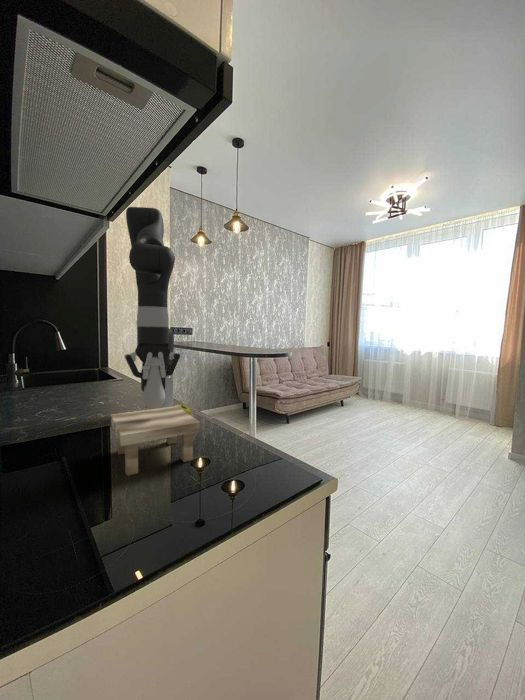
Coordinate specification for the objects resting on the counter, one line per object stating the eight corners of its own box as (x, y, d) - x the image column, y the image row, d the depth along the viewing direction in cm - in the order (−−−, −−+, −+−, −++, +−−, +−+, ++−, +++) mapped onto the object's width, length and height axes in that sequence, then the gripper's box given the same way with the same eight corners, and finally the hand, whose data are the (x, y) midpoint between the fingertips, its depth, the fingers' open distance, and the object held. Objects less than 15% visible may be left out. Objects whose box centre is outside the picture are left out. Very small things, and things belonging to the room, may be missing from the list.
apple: (159, 429, 92) (165, 398, 95) (174, 429, 100) (179, 400, 102) (180, 433, 90) (186, 401, 92) (194, 433, 97) (199, 403, 99)
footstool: (111, 450, 79) (110, 414, 78) (177, 438, 89) (177, 405, 88) (121, 480, 64) (120, 435, 63) (199, 460, 74) (199, 422, 73)
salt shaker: (136, 407, 74) (135, 356, 73) (155, 402, 79) (154, 354, 78) (151, 410, 71) (151, 357, 70) (169, 405, 76) (169, 356, 75)
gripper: (125, 324, 67) (126, 398, 68) (185, 326, 75) (184, 392, 76) (120, 324, 73) (121, 392, 74) (176, 326, 81) (176, 387, 82)
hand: (153, 392), depth 75 cm, fingers closed on salt shaker, 3 cm apart
